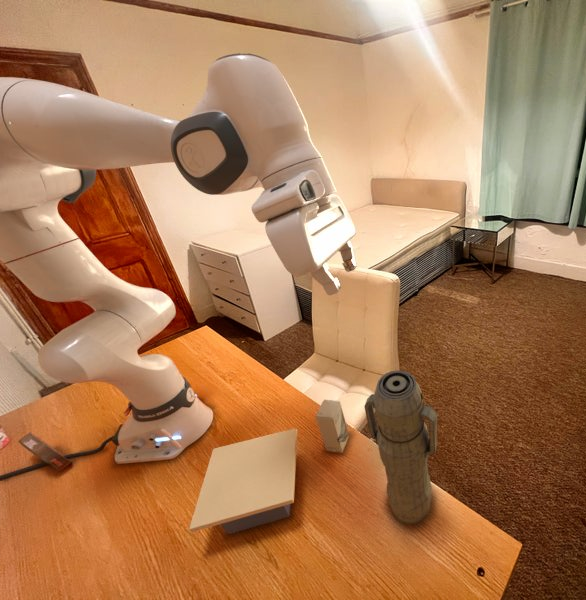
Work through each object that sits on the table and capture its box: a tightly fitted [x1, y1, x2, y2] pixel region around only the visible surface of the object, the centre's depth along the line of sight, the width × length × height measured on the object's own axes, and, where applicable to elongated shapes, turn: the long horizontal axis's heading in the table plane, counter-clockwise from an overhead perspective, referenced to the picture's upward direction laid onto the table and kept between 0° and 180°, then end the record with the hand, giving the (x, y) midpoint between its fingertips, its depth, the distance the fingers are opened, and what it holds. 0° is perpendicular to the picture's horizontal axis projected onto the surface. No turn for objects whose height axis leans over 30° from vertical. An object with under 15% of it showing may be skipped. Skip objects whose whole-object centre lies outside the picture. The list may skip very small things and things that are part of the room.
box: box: [314, 399, 350, 454], centre depth 74 cm, size 5×4×13 cm
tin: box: [18, 431, 73, 472], centre depth 77 cm, size 15×3×8 cm, turn 65°
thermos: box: [364, 370, 438, 525], centre depth 55 cm, size 9×12×35 cm
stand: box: [188, 427, 298, 535], centre depth 65 cm, size 18×16×9 cm
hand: (344, 280), depth 48 cm, fingers open, 8 cm apart
